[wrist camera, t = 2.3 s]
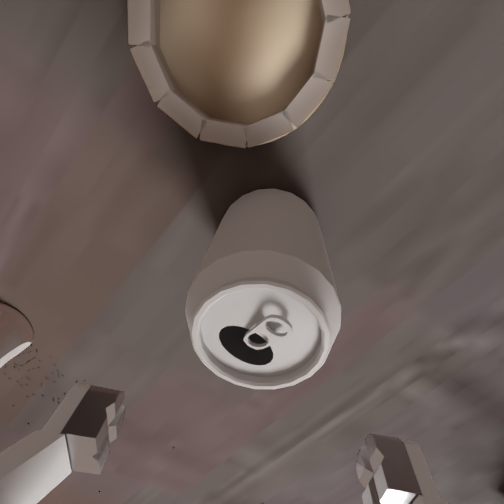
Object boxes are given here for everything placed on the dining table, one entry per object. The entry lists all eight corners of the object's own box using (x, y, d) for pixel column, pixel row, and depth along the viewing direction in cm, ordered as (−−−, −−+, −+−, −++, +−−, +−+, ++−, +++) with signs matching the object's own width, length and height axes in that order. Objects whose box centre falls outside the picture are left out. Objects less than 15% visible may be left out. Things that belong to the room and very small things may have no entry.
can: (202, 236, 25) (142, 345, 14) (265, 162, 22) (247, 232, 11) (273, 290, 27) (267, 423, 16) (340, 229, 24) (387, 344, 13)
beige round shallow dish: (374, -82, 16) (389, -110, 14) (315, 158, 21) (318, 167, 19) (140, -124, 16) (117, -158, 14) (141, 127, 22) (125, 131, 19)
